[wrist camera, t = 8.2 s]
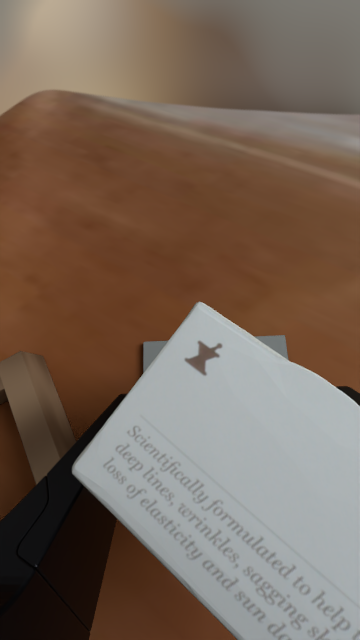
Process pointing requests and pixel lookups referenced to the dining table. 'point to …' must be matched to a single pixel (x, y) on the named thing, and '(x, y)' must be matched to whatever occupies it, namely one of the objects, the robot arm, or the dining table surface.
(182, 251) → the dining table surface
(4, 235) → the dining table surface
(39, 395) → the walnut collar
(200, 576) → the skincare box
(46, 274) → the dining table surface
